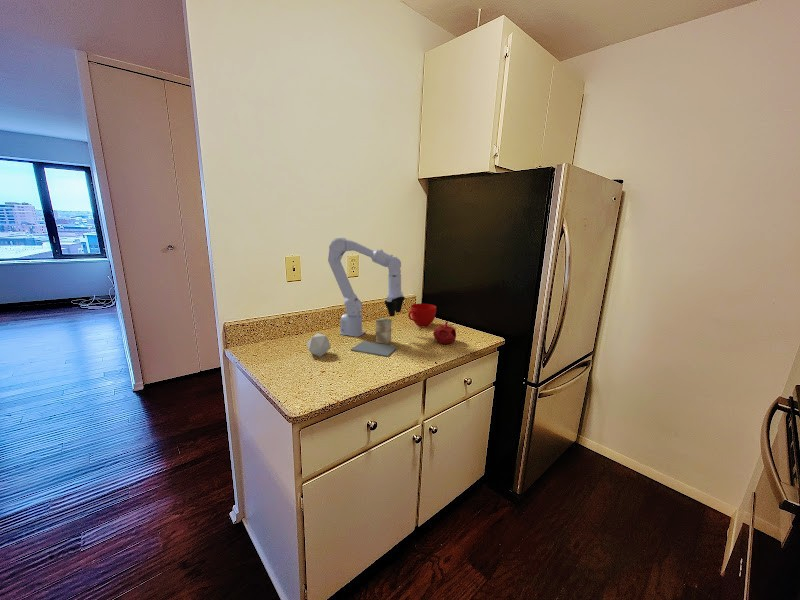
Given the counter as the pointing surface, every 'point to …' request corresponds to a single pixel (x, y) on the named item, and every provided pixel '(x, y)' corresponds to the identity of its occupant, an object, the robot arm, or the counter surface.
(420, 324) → the ceramic cup
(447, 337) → the pomegranate
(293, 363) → the counter surface
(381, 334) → the block
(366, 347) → the mat
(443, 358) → the counter surface
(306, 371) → the counter surface
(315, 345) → the die
